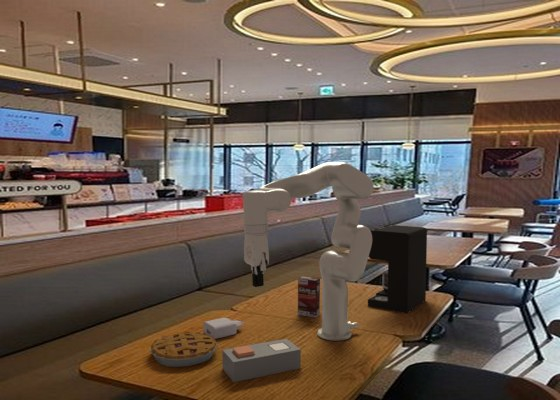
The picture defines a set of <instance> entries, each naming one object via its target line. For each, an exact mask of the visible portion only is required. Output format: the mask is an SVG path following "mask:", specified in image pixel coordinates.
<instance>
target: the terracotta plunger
mask: <svg viewBox="0 0 560 400" xmlns="http://www.w3.org/2000/svg"><path fill="white" fill-rule="evenodd" d="M233 353H234V354H235V355H236V356H237V358H241V357H246V356H252V355H254V350H253V349H252V348H250V347H249V346H248V345H243V346H236V347H233Z"/></svg>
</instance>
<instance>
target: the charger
mask: <svg viewBox="0 0 560 400" xmlns="http://www.w3.org/2000/svg"><path fill="white" fill-rule="evenodd" d="M202 324H203V325H202V326H203V327H202V329H203V334H207V335H209V336H210V337H213V338H214V339H215V340H217V339H221V338H225V337H229V336H233V335H236V334H237V330H238V329H239V328H242V327H243V325H244V324H246V323H245V322H243V321H240V320H233V319H230V318H227V317H221V318H215V319H211V320H207V321H203V323H202Z"/></svg>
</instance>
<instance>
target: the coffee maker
mask: <svg viewBox="0 0 560 400" xmlns="http://www.w3.org/2000/svg"><path fill="white" fill-rule="evenodd" d="M370 231H371V234H372V246H371V250H370V253H369V257H368V259H370V260H375V261H383V262H387V263H388V264H387V269H386V270H385V267H384V268H383V269H382V270H383V272H382V283H381V287H382V290H380V291H378V292H376V293H375V295H373V296H372V297H369V298H368V299H367V307H370V306H371V308H375V307H376V309H381V308H382V309H381V310H386V309H387V310H388V311H391V310H392V312H397V311H398V312H397V313H402V312H404V313H403V314H408V312H409V311H410V312H411V310H412V309H413V310H414V309H416V308H417V307H419V306H420V305H422V304H423V303H424V302H426V301H425V300H426V298H427V249H428V229H427V228H426V227H422V226H421V227H420V226H407V225H397V224H395V225H394V224H392V225H384V226H383V227H380V228H379V227H378V228H377V227H375V228H373V229H372V230H370ZM423 301H424V302H423ZM422 302H423V303H422ZM421 303H422V304H421ZM419 304H420V305H419ZM418 305H419V306H418ZM416 306H417V307H416ZM415 307H416V308H415ZM413 310H412V311H413ZM410 312H409V313H410Z"/></svg>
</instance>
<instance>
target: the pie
mask: <svg viewBox="0 0 560 400" xmlns="http://www.w3.org/2000/svg"><path fill="white" fill-rule="evenodd" d="M216 349H218V344H217V340H216V339H214V338H213V337H210V336H209V335H207V334H205V333H201V331H200V332H197V331H196V332H190V331H185V332H183V333H172V335H163V336H162V337H161V338H160V339H155V340H154V342H153V343H151V345H150V353H151V354H152V355H153V357H154V359H155V360H156V361H157V362H158V363H159V364H160V365H161V366H162V365H163V366H165V367H172V368H173V367H174V368H180V367H189V366H190V367H191V366H194V365H199V364H202V363H205V362H207V361H209V360H211V358H212V356H213V355H214V352H215V350H216Z"/></svg>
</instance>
